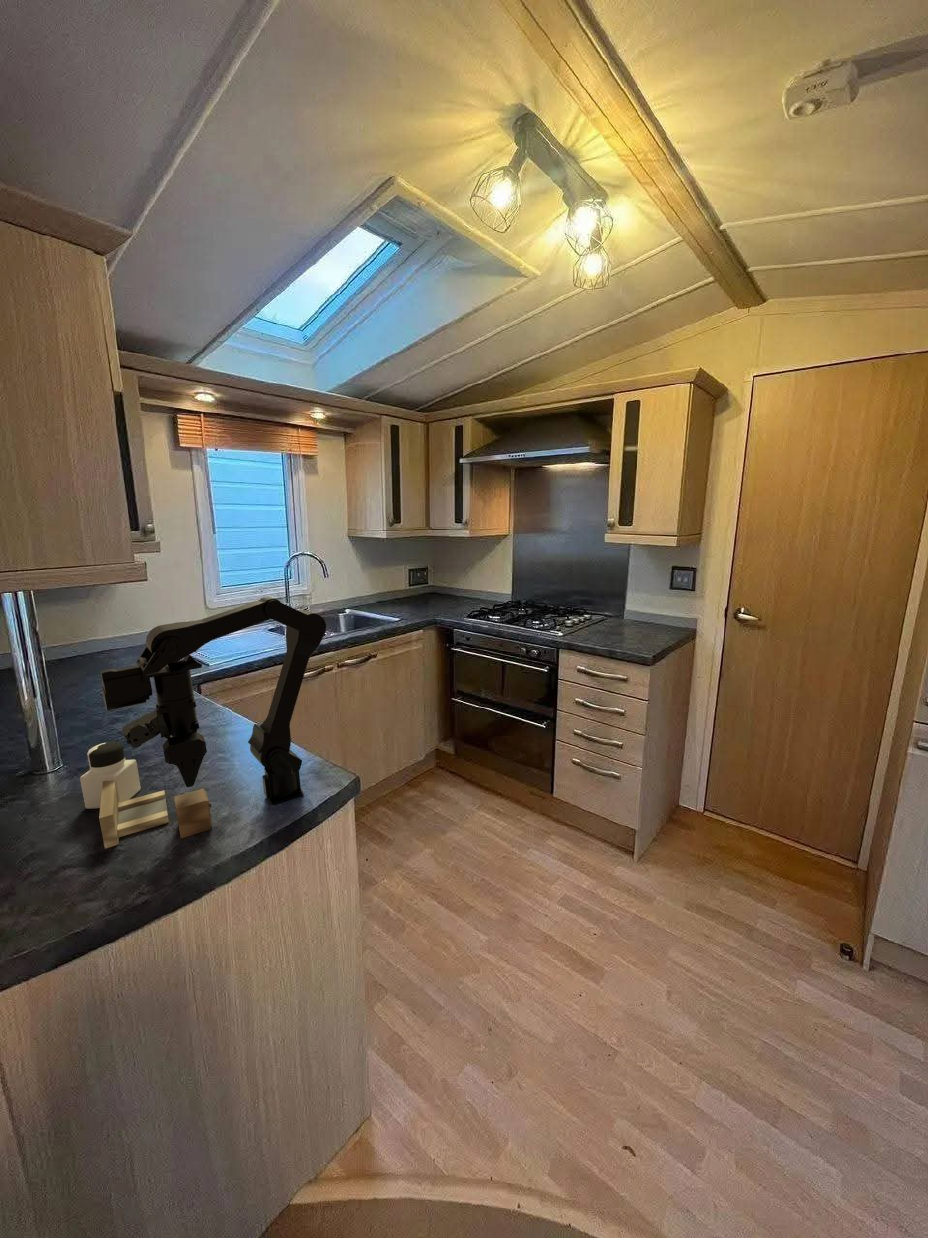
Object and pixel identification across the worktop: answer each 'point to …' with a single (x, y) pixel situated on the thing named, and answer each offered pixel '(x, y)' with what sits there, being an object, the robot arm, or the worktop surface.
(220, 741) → the worktop surface
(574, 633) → the worktop surface
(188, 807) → the cabinet block
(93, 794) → the medicine bottle
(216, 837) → the worktop surface
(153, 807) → the cleat board
